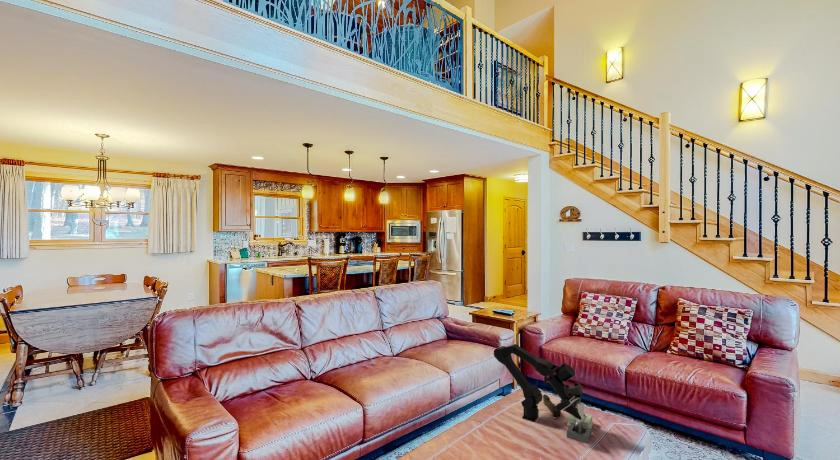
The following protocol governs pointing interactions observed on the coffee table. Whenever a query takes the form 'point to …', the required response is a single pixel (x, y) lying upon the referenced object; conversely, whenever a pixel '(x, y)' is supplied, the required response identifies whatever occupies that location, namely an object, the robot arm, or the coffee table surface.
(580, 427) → the grey cylinder
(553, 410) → the hand tool
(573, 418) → the container
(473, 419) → the coffee table surface
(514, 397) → the coffee table surface
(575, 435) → the socket
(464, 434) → the coffee table surface
